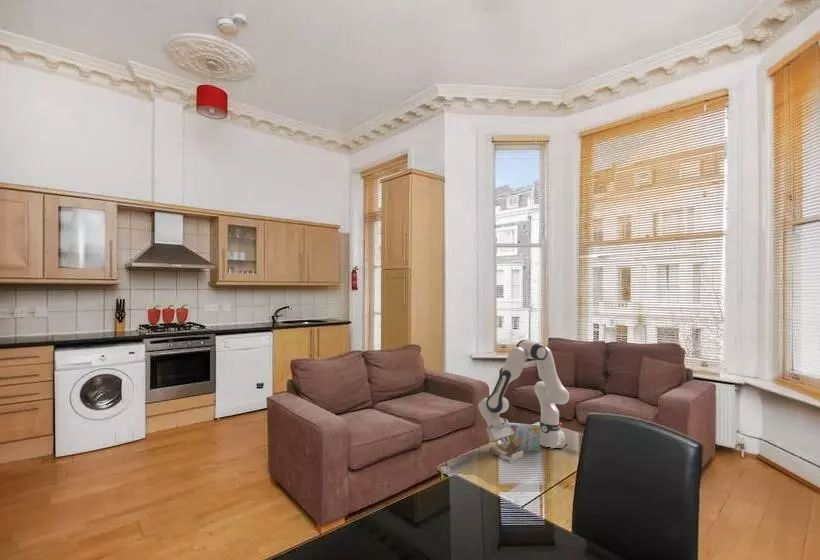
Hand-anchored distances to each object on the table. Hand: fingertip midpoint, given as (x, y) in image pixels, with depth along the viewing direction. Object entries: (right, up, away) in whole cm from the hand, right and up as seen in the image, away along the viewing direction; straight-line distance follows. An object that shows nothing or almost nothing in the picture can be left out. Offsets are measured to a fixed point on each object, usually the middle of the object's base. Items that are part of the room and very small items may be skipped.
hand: (508, 445), depth 243 cm
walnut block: (+1, -3, -1) cm, 3 cm away
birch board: (-3, -6, +2) cm, 7 cm away
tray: (+1, -6, -2) cm, 6 cm away
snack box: (+11, -7, +11) cm, 17 cm away
